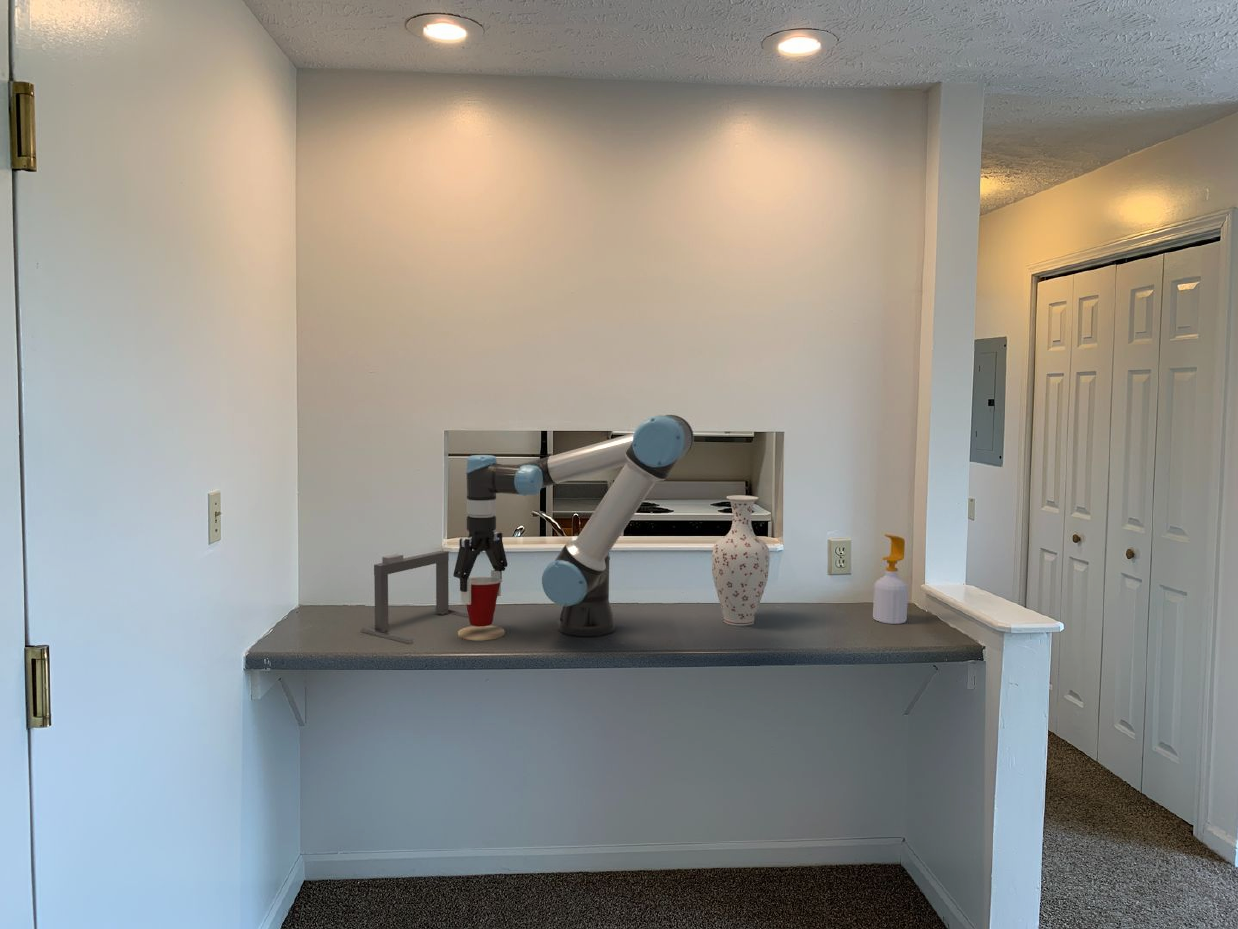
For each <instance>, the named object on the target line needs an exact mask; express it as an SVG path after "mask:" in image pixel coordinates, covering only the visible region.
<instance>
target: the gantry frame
mask: <svg viewBox="0 0 1238 929" xmlns="http://www.w3.org/2000/svg"><path fill="white" fill-rule="evenodd" d="M449 552H450V551H448V550H438V551H432V552H428V553H423V554H418V555H415V556H414V555H413V556H409V557H404V555H403V554H399V553H396V554H391V555H390V554H389V555H385V556H382V557H381V558H382V562H380V563H376V564H375V563H374V565H373V575H374V576H373V577H374V579H373V580H374V629H375V630H379V631H383V632H388V631H389V575H390V574H391V575H392V574H395V573H400V572H404V571H409V570H413V569H417V568H418V569H419V568H421V567H422V568H423V567H427V566H430V565H435V587H436V588H435V599H436V600H435V604H436V606H435V611H436V613H435V614H437V615H438V614H439V615H442V616H443V615H446V614H450V613H449V608H450V606H449V604H450V603H449V602H450V600H449V597H450V596H449V591H450V590H449V561H450V560H449V559H450V558H449V557H450V556H449Z"/></svg>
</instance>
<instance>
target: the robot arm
mask: <svg viewBox="0 0 1238 929" xmlns="http://www.w3.org/2000/svg"><path fill="white" fill-rule="evenodd" d="M694 441H695V436H694V431H693V429H692V426H691V425H690V424H689V422H688V421H687V420H686V419H684V418H683V417H681V416H679V415H676V414H675V415H674V414H665V415H661V414H660V415H654V416H650V417H648V418H646V419H645V420H644V421H642V422H641V423H640V424H639V425H638V426H637V427H636V430H635V431H634V432H632V433H628V434H626V435H622V436H617V437H615V438H611V439H607V440H604V441H601V442H597V443H593V444H589V445H587V446H583V447H579V448H575V449H572V450H569V451H564V452H562V453H561V452H560V453H558V454H554V455H551V456H548V457H547V456H546V457H542V458H539V459H536V460H533V461H528V462H522V463H518V464H503V463H498V462H497V457H496V456H494V455H490V454H476V455H473V454H472V455H470V456H469V457H468V458H467V460H466V461H467V462H466V472H465V474H466V514H467V516H466V530H467V532H468V537H466V538H463V537H461V538H459V548H458V552H457V556H456V562H455V567H454V571H453V577H454V578H457V579H459V591H460V592H461V593H460V601H461V602H460V603H461V604H463V605H466V604H467V605H470V604H471V579H468V578H470V575H471V574H472V573H471V572H472V570H473V568H474V565H475V563H476V560H477V558H478V556H479V555H481V553H482V552H485V554H486V556H487V559H488V561H489V562H490V565H491V567H492V569H491V570H490V577H494V578H500V579H502V580H503V578H502V574H503V573H502V572H505V571H506V568H507V567H508V560H507V556H506V551H505V547H504V543H503V532H498V531H496V529H497V516H496V514H497V494H507V495H508V494H509V495H521V496H536V495H538V494H539V493H540V491H541V489H543V488H544V489H545V488H547V487H549V486H554V485H556V484H560V483H564V482H568V481H572V480H575V479H580V478H584V477H588V476H591V475H594V474H599V473H602V472H606V471H610V470H613V469H617V468H621V467H622V469H621V470H620V471H619V474H618V475H617V476H616V478H615V479H614V481H613V483H612V484H611V485H610V486H609V489H607V492H606V493H605V495H604V496H603V498H602V499H601V501H600V502H599V504H598V505H597V507H596V509H594V512H593V513H592V514H591V516H590V517H589V520H587V522H586V524H585V525H584V526H583V528H582V530H581V531H580V533H579V534H578V535H577V537H576V539H573V540H570V541H569V540H568V541H567V542H566V543H565V544H564V546H563V548H562V549H561V551H560V552H559V553H558V555H557V557H556V558H555V560H554V561H552V562H550V563H549V564H548V565H547V566H546V567H545V569H544V571H543V573H542V576H541V585H542V589H543V592H544V594H545V596H546V597H547V598H548V599H549V600H550V601H551V602H552V603H553V604H556V605H558V606H562V609H561V613H560V616H559V619H558V631H560V632H561V633H563V634H566V635H569V636H575V637H599V636H605V635H608V634H611V633H613V632H614V631H615V629H616V620H615V617H614V614H613V611H612V610H613V609H612V607H611V606H612V605H611V603H610V597H609V596H610V595H609V594H610V559H611V556H610V551H611V550H612V549H613V547H614V546H615V544H616V542H617V541H618V540H619V538H620V536H621V535H622V534H623V532H624V531H625V529H626V528H627V526H628V525H629V523H630V522H631V520H632V518H634V515H635V514H636V513H637V511H638V509H640V506H641V505H642V504H643V502H644V501H645V499H646V498H647V496H648V494H649V493H650V492H651V490H652V489H653V487H654V486H655V484H656V483H657V482H661V481H665V480H666V479H667V478H668V476H669V474H671V472H672V470H673V469H674V467H675V466H676V464H677V463H678V461H680V460H682V459H683V458H684V457H686V456H688V454H689V453H690V452H691V450H692V448H693V445H694ZM501 583H502V582H501ZM501 583H500V587H499V591H498V595H497V597H501V596H502V595H501V594H502V593H501V592H502V590H501V589H502V588H501V587H502V584H501ZM467 605H466V606H467Z"/></svg>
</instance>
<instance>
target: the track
mask: <svg viewBox="0 0 1238 929" xmlns="http://www.w3.org/2000/svg"><path fill="white" fill-rule="evenodd" d="M448 614H451V615H457V616H461V617H466V618H469V616H468V612H467V611H464V610H459V609H456V608H455V609H454V608H450V607H449V613H448ZM360 632H361V633H364V634H368V635H372V636H378V637H380V638H384V639H388V640H392V641H397V642H401V643H405V644H408V645H411V644H413V643H414V638H411V637H407V636H403V635H399V634H395V633H392V632H391V633H390V632H388V631H385V632H383V631H379V630H375V628H370V627H365V626H363V627H361V628H360Z"/></svg>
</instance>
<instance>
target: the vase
mask: <svg viewBox="0 0 1238 929" xmlns="http://www.w3.org/2000/svg"><path fill="white" fill-rule="evenodd" d="M726 499H727V500H728V501H729V503H730V506H731V510H732V513H731V514H732V519H731V520H732V522H731V523H732V524H731V526H730V530H729V531H728V533H727V534H726V535H724V536H723V537H721V538H720V539H718V540H717V541H716V542H715V544H714V546H713V547H712V553H711V569H712V570H711V572H712V574H711V575H712V580H713V584H714V587H715V590H716V594H717V597H718V601H719V605H720V607H721V608H720V609H721V612H722V616H723V622H724V623H726V624H728V625H731V626H738V627H740V626H741V627H742V626H751V625H754V624H755V618H756V614H757V612H758V608H759V606H760V603H761V600H762V597H763V594H764V592H765V588H766V586H767V582H768V579H769V571H770V561H771V560H770V559H771V556H770V549H769V546H768V545H767V543H766V542H765V541H763V540H762V539H761V538H759V537H758V536H757V535H756V534H755V532H754V529H753V526H752V512H753V507H754V504H755V502H756V501H758V500H759V497H758V496H753V495H740V494H739V495H734V494H733V495H727V496H726Z"/></svg>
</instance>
